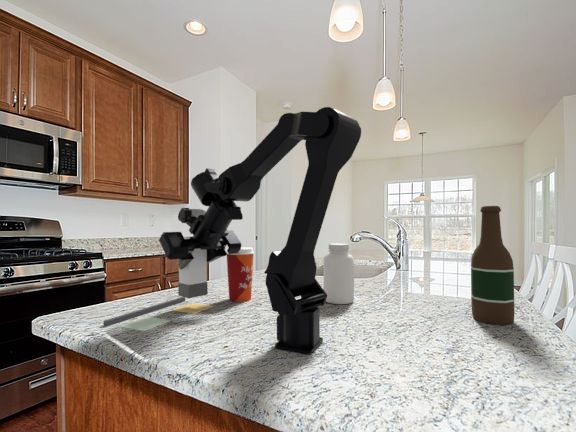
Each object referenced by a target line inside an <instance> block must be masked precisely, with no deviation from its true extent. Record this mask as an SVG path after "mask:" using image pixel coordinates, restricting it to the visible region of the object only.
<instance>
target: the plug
mask: <svg viewBox="0 0 576 432" xmlns="http://www.w3.org/2000/svg"><path fill="white" fill-rule="evenodd" d="M183 237H184V239H189V238H190V237H193V236H192V235H190V236H183ZM192 255H193V257H194V259H193V260H192V261H191V262H190V263H189V264H188V265H186V266H185V267H184V268H183V269H181V270H180V268H179V267H178V283H177V284H178V286H177V289H178V290H177V291H178V293H177V294H178V296H179V297H185V299H192V298H193V299H194V298H197V297H202V296H207V295H208V290H209V289H208V274H207V273H208V271H207V270H208V267H207V266H208V264H207V249H205V250H201V249H194V251H193V252H192Z"/></svg>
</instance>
